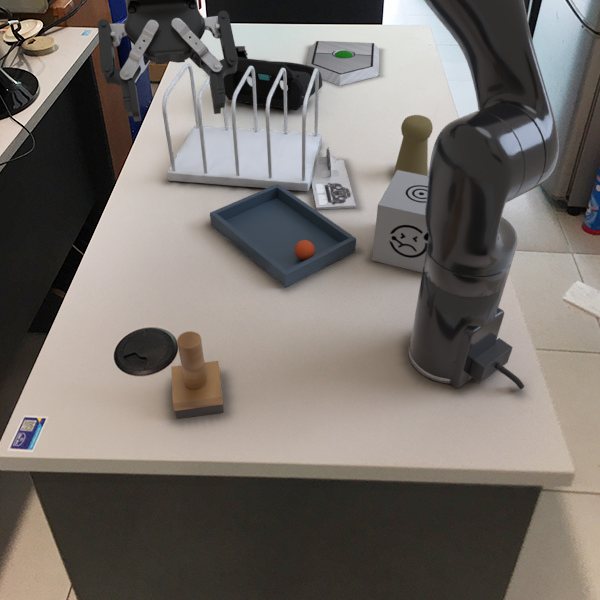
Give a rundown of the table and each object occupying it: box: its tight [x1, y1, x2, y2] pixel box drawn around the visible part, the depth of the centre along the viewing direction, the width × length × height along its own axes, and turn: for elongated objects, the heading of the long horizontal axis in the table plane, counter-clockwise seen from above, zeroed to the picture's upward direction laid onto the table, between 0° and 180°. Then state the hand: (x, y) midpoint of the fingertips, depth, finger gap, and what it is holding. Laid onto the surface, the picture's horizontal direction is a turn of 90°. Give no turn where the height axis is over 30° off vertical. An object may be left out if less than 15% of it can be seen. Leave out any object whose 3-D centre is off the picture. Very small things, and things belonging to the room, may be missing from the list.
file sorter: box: [161, 63, 323, 192], centre depth 110 cm, size 25×17×16 cm
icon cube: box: [371, 170, 429, 274], centre depth 93 cm, size 10×10×10 cm
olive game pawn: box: [393, 114, 433, 177], centre depth 108 cm, size 6×6×11 cm
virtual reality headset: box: [223, 57, 323, 111], centre depth 134 cm, size 19×22×10 cm
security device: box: [305, 40, 380, 87], centre depth 147 cm, size 17×22×2 cm
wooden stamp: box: [171, 331, 225, 420], centre depth 72 cm, size 6×6×10 cm
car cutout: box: [310, 146, 357, 211], centre depth 109 cm, size 15×7×4 cm, turn 5°
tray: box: [209, 184, 357, 288], centre depth 98 cm, size 20×14×2 cm
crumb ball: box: [295, 240, 315, 260], centre depth 93 cm, size 3×3×3 cm
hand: (178, 115), depth 67 cm, fingers open, 8 cm apart
